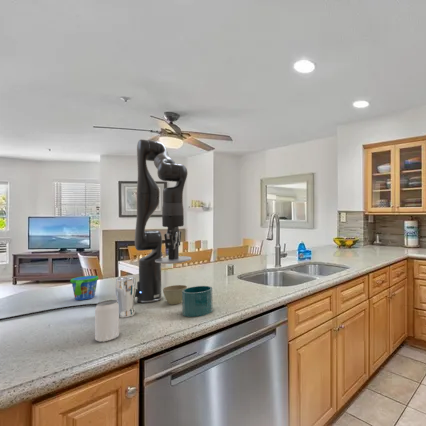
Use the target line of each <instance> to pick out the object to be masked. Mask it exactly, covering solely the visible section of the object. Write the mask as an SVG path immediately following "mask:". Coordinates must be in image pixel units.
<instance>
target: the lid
mask: <svg viewBox="0 0 426 426" xmlns="http://www.w3.org/2000/svg"><path fill="white" fill-rule="evenodd" d="M179 248H180V246H175V259H169V253H167V254H168V256H166V257H161V258H159V259H156V260H155V262H156V263H161V264H165V265H172V264H174V265H175V264H181V263H185V262H188V261H191V260H192V256H187V255H186V256H185V255H183V256H182V255H180V252H179V251H180V250H179Z"/></svg>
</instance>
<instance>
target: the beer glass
mask: <svg viewBox="0 0 426 426" xmlns="http://www.w3.org/2000/svg"><path fill="white" fill-rule="evenodd" d="M136 289H137V282H136V276H123V277H119V278H117V279H116V280H115V296H116V300H117V302H118V305H119V319H121V318H123V319H125V318H129V317H132V316H134V315H135V314H136V310H135V300H136V297H135V294H136Z"/></svg>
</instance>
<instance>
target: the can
mask: <svg viewBox="0 0 426 426" xmlns="http://www.w3.org/2000/svg"><path fill="white" fill-rule="evenodd" d="M119 335H120V318H119V305H118V303H117V299H107V300H102V301H99V302H97V305H95V309H94V337H95V341H96V342H98V343H104V342H105V343H106V342H110V341H113V340H115V339H117V338H118V337H119Z"/></svg>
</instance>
